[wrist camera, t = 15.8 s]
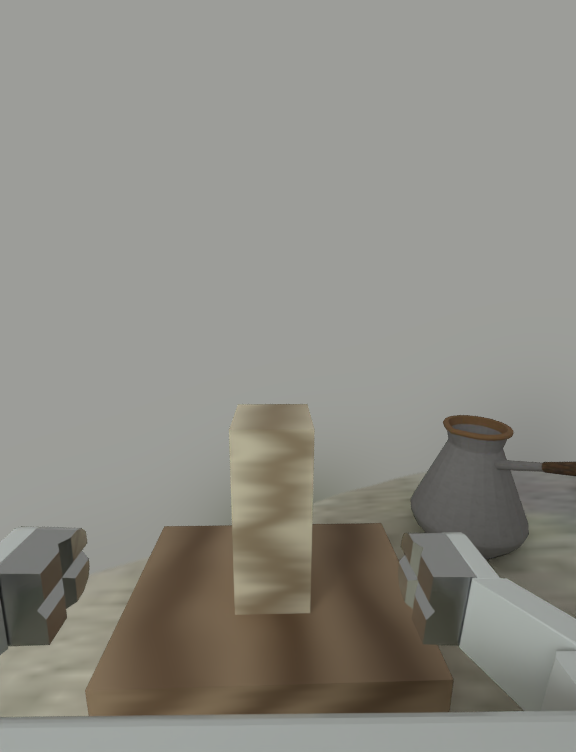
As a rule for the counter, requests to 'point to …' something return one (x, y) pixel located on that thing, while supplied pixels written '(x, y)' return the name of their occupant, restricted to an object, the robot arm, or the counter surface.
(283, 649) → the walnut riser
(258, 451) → the birch block
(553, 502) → the counter surface
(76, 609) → the counter surface
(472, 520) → the coffee pot
